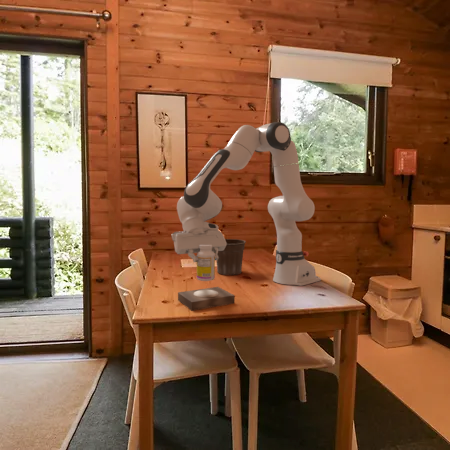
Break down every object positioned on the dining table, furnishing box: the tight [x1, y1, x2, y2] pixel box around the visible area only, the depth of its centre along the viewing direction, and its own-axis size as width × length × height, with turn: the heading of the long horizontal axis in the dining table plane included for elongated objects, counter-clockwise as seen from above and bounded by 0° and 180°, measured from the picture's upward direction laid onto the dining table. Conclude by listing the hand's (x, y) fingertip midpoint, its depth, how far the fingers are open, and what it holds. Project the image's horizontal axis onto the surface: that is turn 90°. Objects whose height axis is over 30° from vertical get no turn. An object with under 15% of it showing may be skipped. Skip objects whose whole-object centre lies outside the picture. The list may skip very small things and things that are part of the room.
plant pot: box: [216, 238, 246, 276], centre depth 174 cm, size 16×16×16 cm
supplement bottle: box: [196, 244, 216, 282], centre depth 127 cm, size 7×7×13 cm
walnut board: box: [177, 286, 236, 311], centre depth 128 cm, size 17×13×3 cm
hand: (206, 260), depth 126 cm, fingers closed on supplement bottle, 7 cm apart
